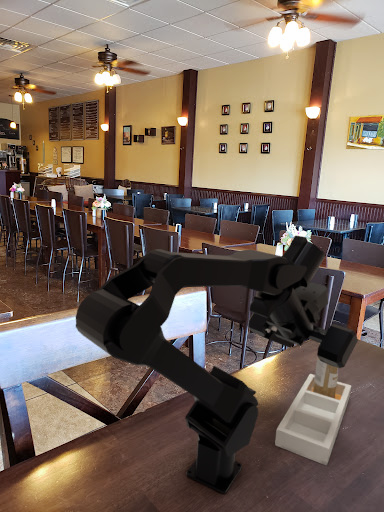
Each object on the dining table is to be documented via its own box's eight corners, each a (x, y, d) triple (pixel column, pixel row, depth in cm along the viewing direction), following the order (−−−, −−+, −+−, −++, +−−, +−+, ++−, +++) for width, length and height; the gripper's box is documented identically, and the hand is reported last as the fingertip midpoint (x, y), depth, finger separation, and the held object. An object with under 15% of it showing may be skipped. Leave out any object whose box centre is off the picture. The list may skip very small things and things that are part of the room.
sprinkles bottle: (337, 405, 78) (346, 341, 75) (313, 402, 78) (322, 339, 75) (332, 393, 82) (341, 333, 79) (309, 390, 83) (318, 330, 80)
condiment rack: (326, 465, 62) (329, 448, 61) (274, 445, 66) (276, 429, 65) (349, 397, 82) (351, 384, 82) (308, 385, 86) (310, 372, 86)
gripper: (361, 283, 59) (380, 335, 69) (263, 259, 73) (290, 306, 82) (328, 343, 56) (353, 389, 65) (231, 307, 69) (264, 350, 79)
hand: (312, 354), depth 73 cm, fingers open, 9 cm apart
